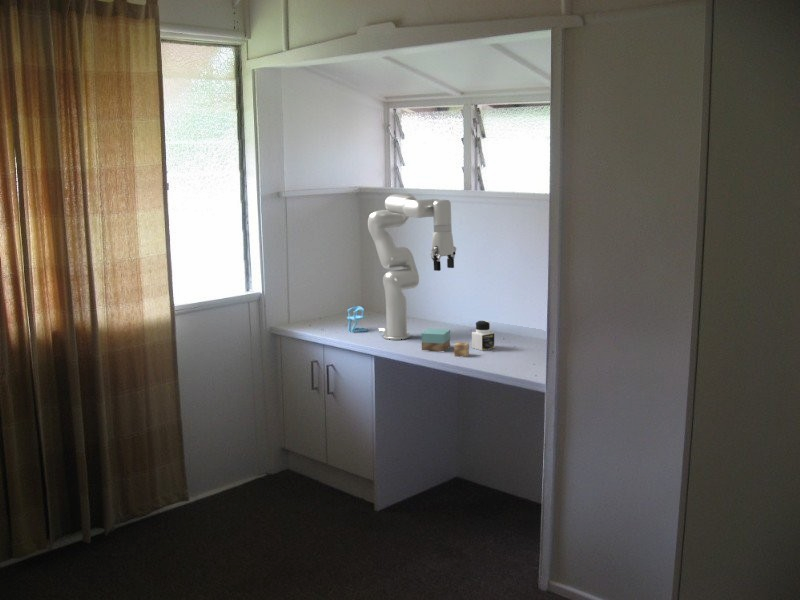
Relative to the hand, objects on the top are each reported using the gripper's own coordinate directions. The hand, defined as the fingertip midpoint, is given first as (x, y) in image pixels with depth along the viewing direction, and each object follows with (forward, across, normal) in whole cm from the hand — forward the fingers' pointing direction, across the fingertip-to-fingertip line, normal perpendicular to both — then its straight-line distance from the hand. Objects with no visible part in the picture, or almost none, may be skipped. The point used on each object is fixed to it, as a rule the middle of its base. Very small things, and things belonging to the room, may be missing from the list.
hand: (444, 269), depth 357 cm
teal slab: (+32, -1, -6) cm, 33 cm away
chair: (+34, -9, -61) cm, 70 cm away
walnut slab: (+36, -1, -7) cm, 37 cm away
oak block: (+36, +2, +10) cm, 37 cm away
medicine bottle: (+36, -13, +10) cm, 40 cm away
